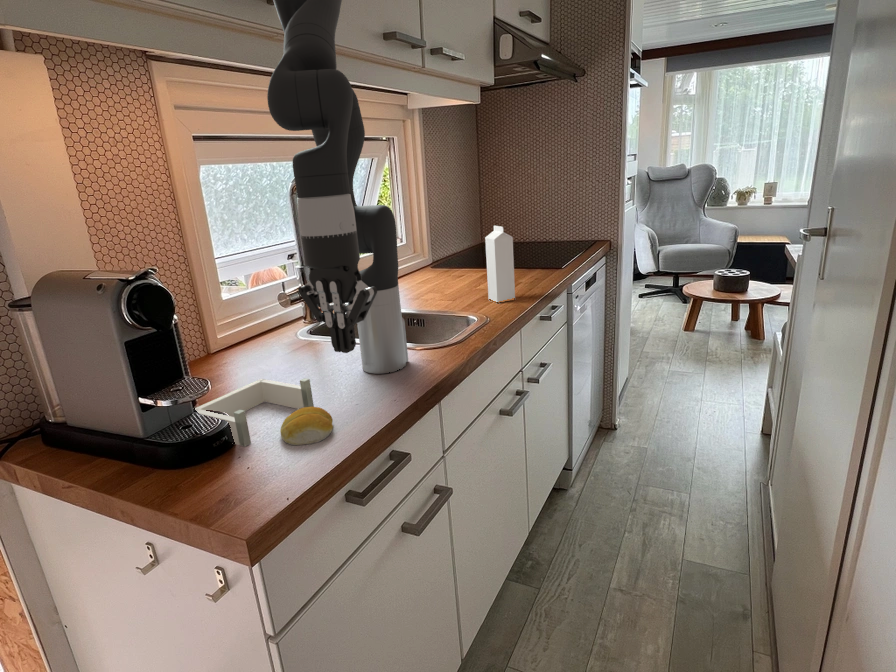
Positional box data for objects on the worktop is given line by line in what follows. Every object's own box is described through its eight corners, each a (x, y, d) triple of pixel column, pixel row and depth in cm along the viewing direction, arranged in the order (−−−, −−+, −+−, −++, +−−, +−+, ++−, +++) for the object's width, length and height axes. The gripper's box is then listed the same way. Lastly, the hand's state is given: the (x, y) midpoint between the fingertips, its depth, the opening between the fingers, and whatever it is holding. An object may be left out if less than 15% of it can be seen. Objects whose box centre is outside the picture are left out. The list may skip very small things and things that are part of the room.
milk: (505, 297, 172) (503, 224, 166) (515, 301, 167) (512, 225, 161) (488, 300, 170) (484, 226, 164) (497, 304, 165) (493, 227, 158)
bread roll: (332, 418, 96) (329, 396, 95) (334, 441, 88) (331, 418, 87) (282, 426, 95) (279, 404, 94) (279, 450, 86) (275, 426, 85)
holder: (264, 398, 107) (259, 370, 105) (314, 408, 100) (309, 379, 99) (193, 432, 94) (186, 401, 93) (245, 446, 88) (238, 413, 86)
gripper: (384, 226, 76) (397, 347, 81) (311, 227, 83) (327, 339, 88) (348, 233, 70) (364, 364, 75) (273, 234, 77) (292, 354, 82)
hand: (344, 350), depth 82 cm, fingers closed
